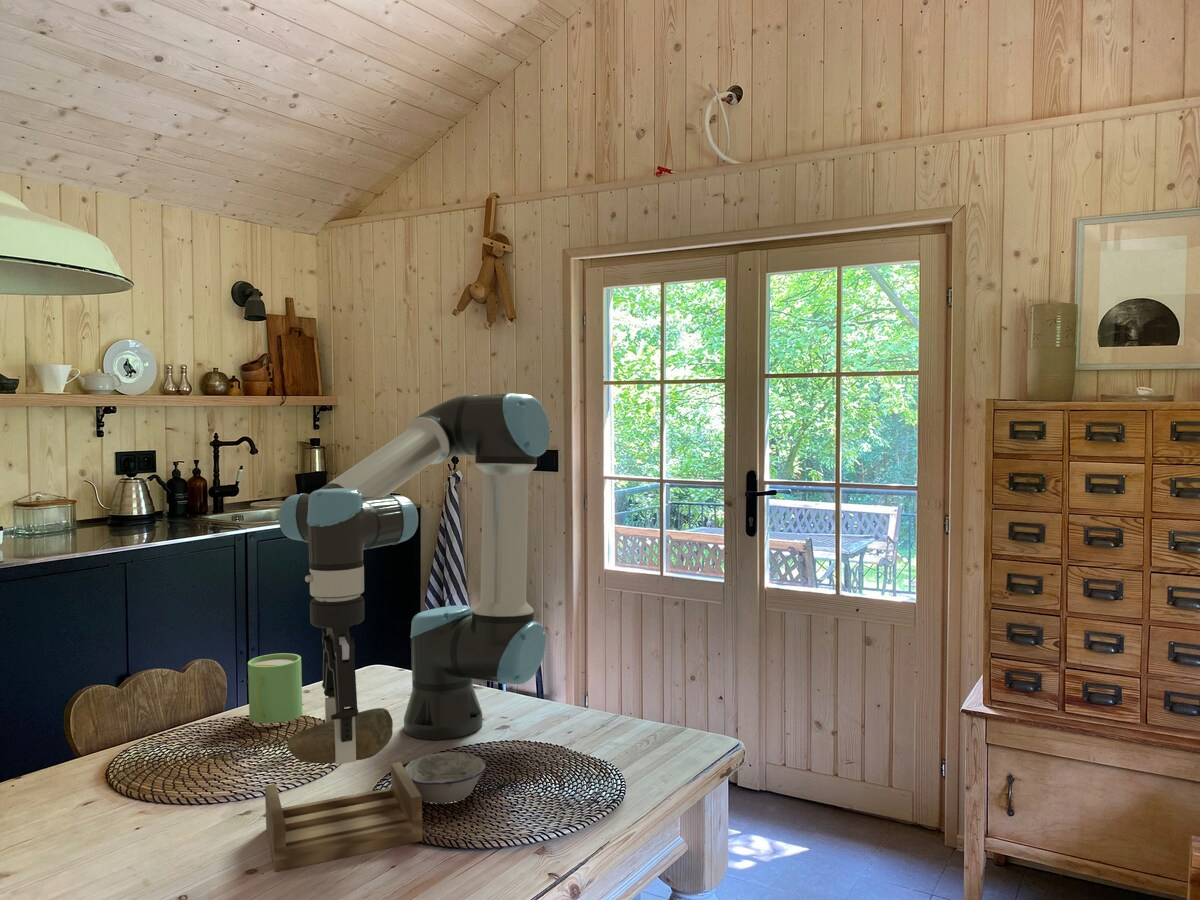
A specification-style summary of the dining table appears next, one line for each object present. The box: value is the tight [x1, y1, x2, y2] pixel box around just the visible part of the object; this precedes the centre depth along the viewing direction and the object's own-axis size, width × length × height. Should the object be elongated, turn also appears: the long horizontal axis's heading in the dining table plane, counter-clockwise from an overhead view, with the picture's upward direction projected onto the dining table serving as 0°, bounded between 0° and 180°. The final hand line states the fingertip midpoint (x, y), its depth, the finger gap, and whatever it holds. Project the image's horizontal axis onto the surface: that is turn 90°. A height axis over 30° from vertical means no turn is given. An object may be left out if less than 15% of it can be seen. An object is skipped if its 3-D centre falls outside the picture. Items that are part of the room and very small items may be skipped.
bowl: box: [404, 751, 487, 803], centre depth 144 cm, size 13×13×5 cm
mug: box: [245, 652, 303, 724], centre depth 180 cm, size 13×10×12 cm
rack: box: [264, 761, 424, 873], centre depth 131 cm, size 20×14×6 cm
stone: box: [286, 707, 394, 764], centre depth 131 cm, size 9×14×10 cm, turn 108°
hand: (340, 750), depth 130 cm, fingers closed on stone, 9 cm apart
